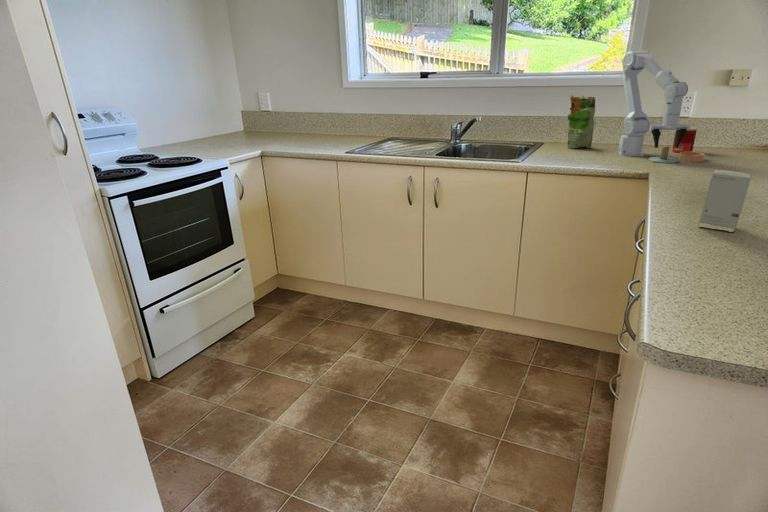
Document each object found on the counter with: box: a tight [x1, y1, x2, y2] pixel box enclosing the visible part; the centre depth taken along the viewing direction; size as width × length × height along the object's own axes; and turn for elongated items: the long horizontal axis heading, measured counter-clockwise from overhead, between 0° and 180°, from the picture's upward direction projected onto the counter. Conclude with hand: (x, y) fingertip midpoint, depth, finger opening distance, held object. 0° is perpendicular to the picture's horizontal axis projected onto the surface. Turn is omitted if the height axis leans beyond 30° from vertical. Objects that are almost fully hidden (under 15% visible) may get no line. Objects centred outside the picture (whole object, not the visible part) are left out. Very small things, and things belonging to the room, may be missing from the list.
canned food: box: [671, 126, 698, 154], centre depth 217 cm, size 8×8×11 cm
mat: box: [647, 157, 681, 164], centre depth 204 cm, size 10×10×1 cm
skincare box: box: [698, 169, 753, 230], centre depth 126 cm, size 8×6×15 cm
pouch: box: [567, 94, 596, 150], centre depth 235 cm, size 11×12×25 cm
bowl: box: [677, 151, 706, 163], centre depth 203 cm, size 9×9×3 cm
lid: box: [648, 146, 680, 164], centre depth 203 cm, size 11×11×6 cm
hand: (666, 147), depth 202 cm, fingers open, 7 cm apart
